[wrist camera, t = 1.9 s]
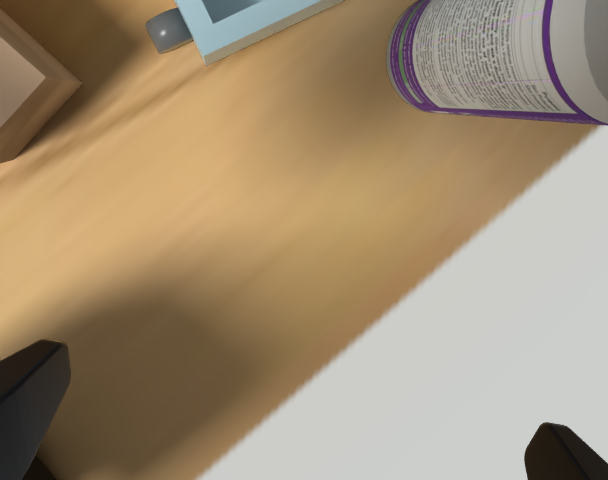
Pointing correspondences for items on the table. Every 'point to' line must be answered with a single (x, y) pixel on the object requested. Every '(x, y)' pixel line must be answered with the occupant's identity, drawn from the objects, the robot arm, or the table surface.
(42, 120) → the walnut block
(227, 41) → the cart
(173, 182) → the table surface
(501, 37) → the container
